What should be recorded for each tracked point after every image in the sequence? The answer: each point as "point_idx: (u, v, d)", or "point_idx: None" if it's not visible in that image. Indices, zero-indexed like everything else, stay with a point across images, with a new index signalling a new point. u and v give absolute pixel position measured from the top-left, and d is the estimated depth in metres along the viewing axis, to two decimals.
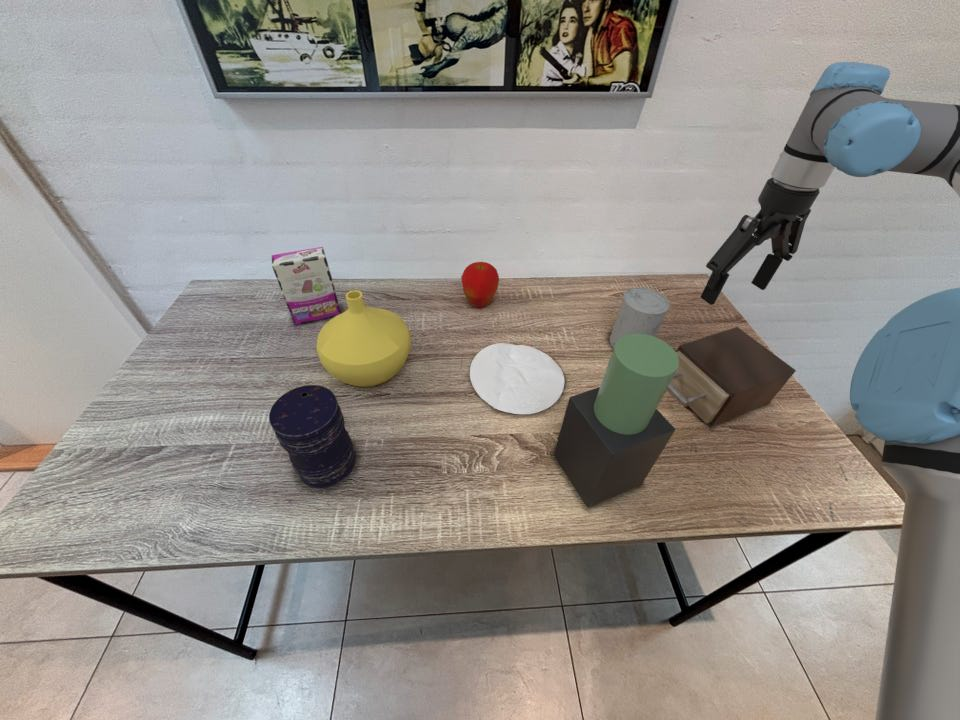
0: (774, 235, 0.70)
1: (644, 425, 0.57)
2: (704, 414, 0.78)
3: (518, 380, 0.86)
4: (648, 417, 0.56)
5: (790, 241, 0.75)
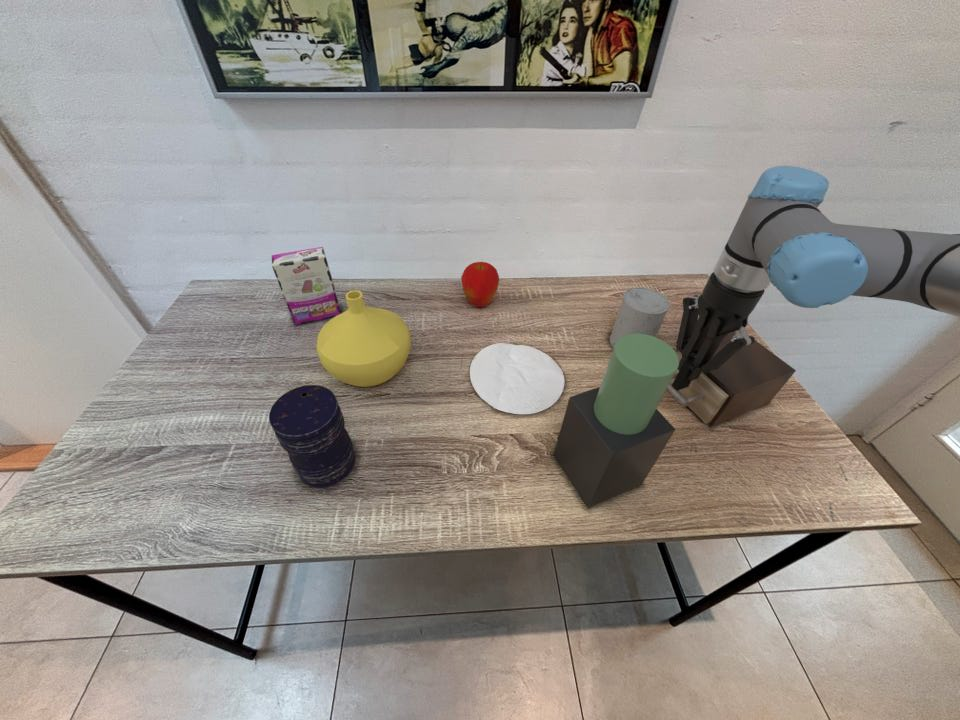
0: None
1: (644, 425, 0.57)
2: (703, 414, 0.78)
3: (518, 380, 0.86)
4: (648, 417, 0.56)
5: (690, 334, 0.72)
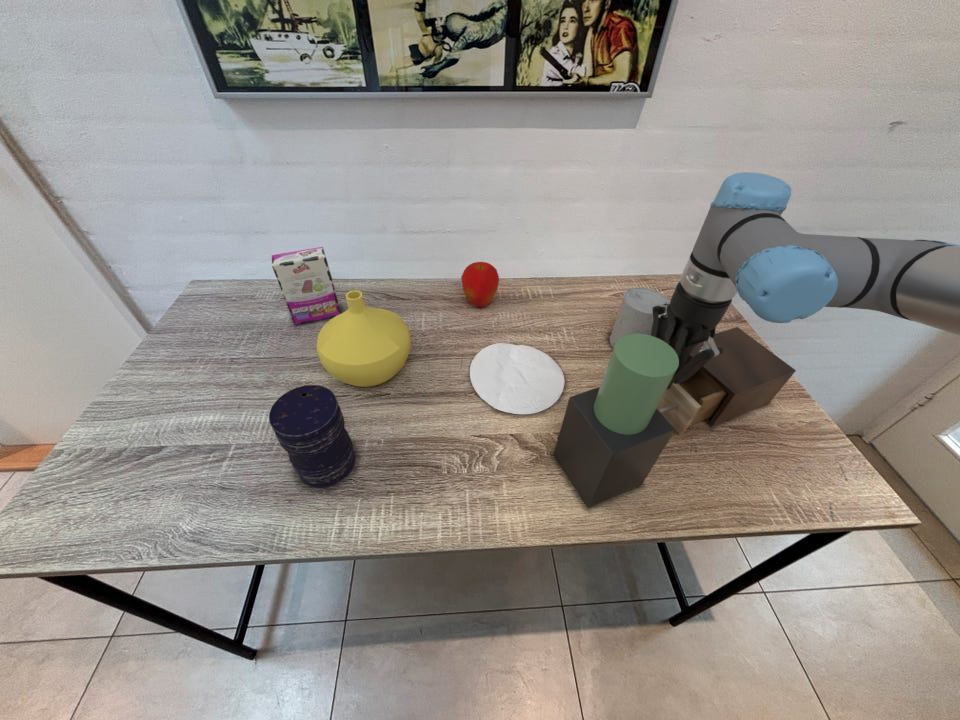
0: None
1: (644, 425, 0.57)
2: (677, 425, 0.76)
3: (518, 380, 0.86)
4: (648, 417, 0.56)
5: None
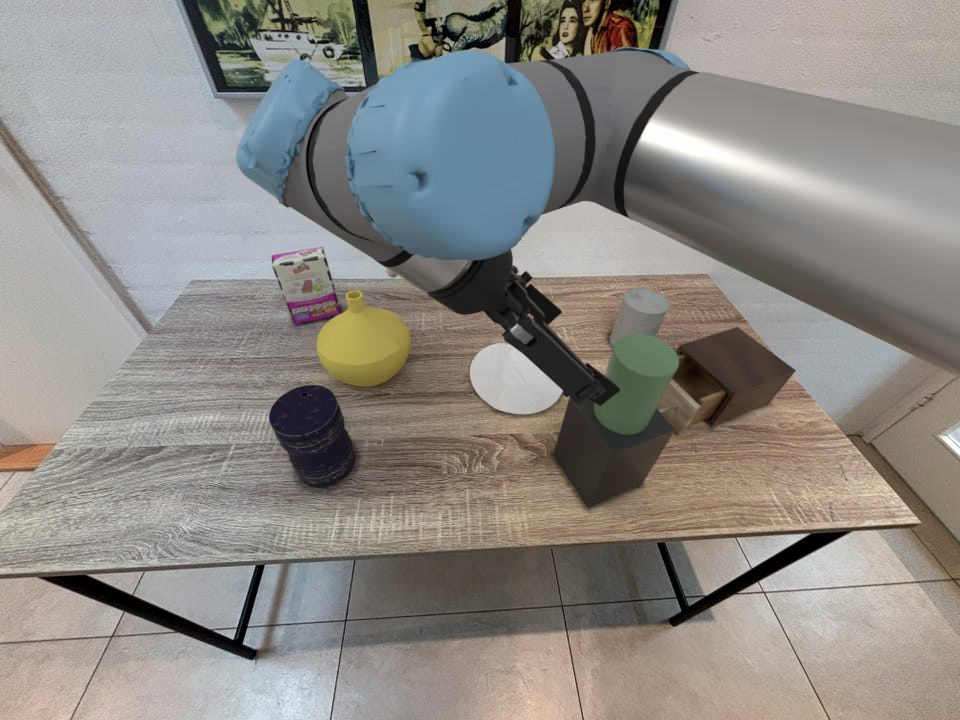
0: None
1: (644, 425, 0.57)
2: (676, 425, 0.76)
3: (518, 380, 0.86)
4: (648, 417, 0.56)
5: None
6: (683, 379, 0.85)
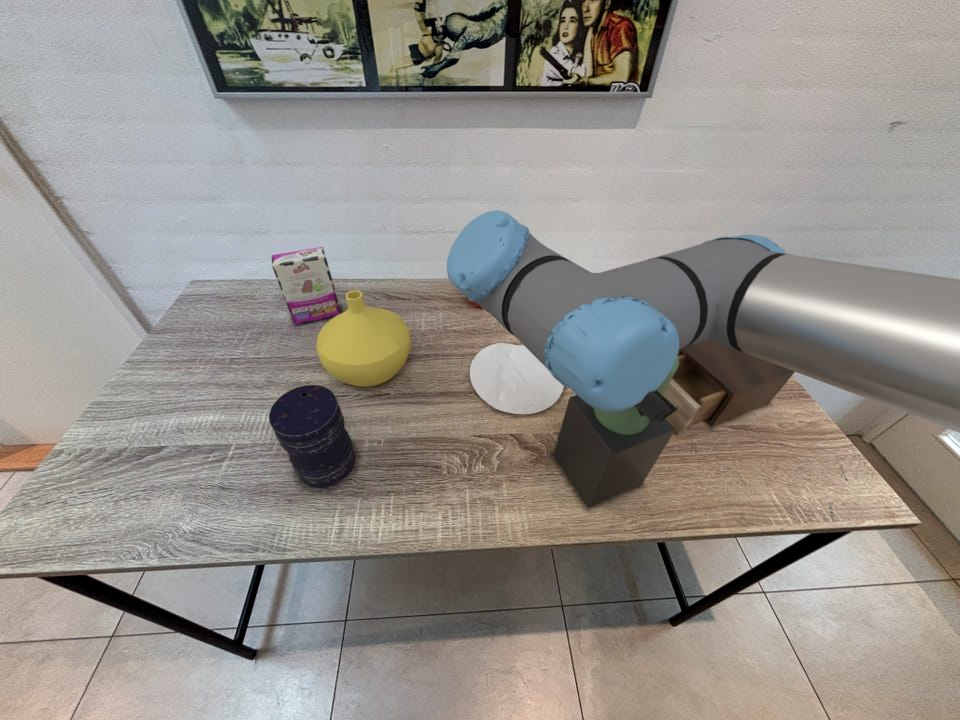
0: None
1: (644, 425, 0.57)
2: (676, 425, 0.76)
3: (518, 380, 0.86)
4: None
5: None
6: (683, 379, 0.85)
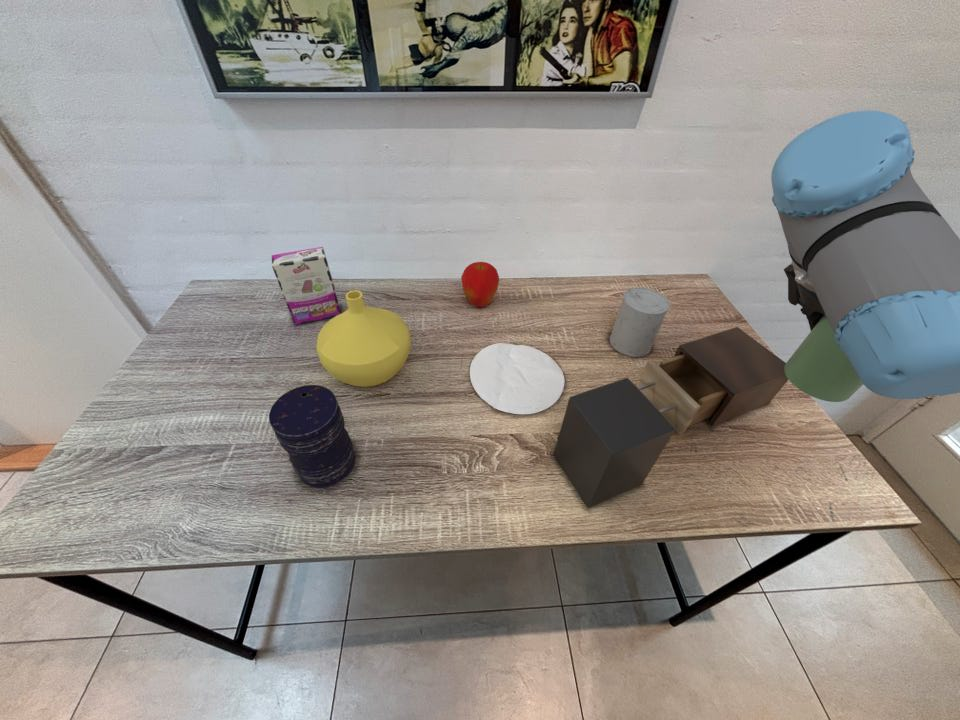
0: None
1: (855, 391, 0.52)
2: (676, 425, 0.76)
3: (518, 380, 0.86)
4: None
5: None
6: (683, 379, 0.85)
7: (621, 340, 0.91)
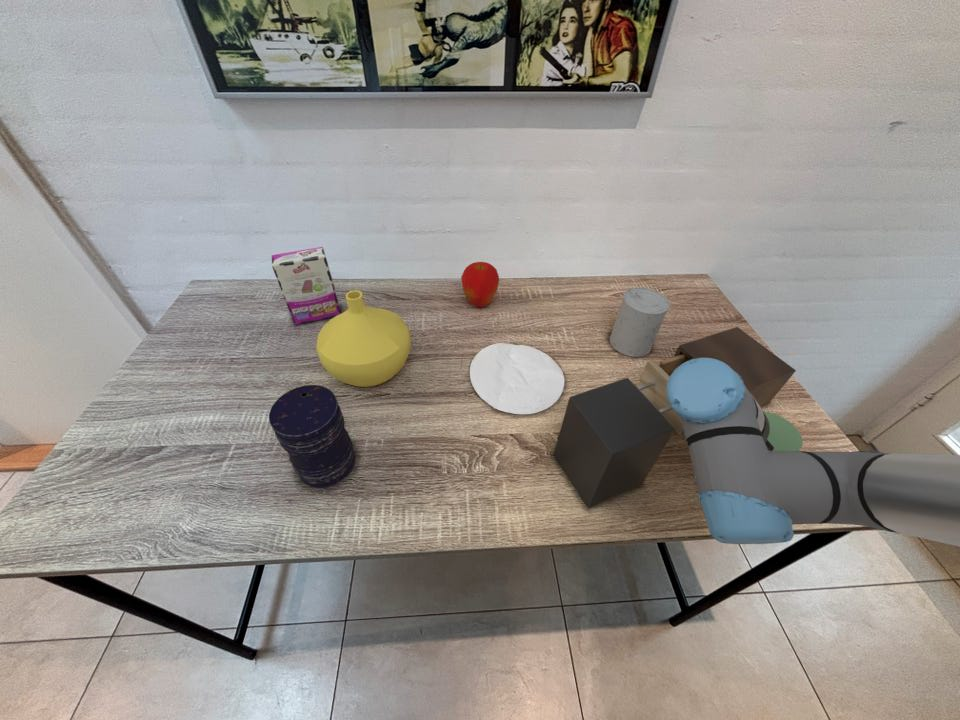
0: None
1: None
2: (676, 425, 0.76)
3: (518, 380, 0.86)
4: None
5: None
6: None
7: (621, 340, 0.91)
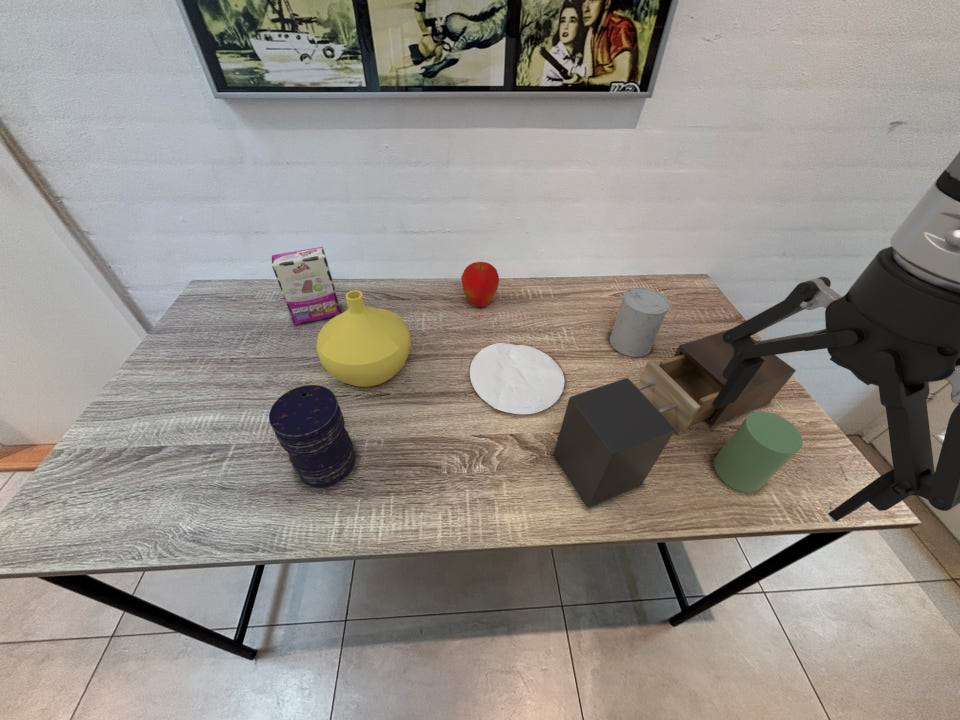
0: None
1: None
2: (676, 425, 0.76)
3: (518, 380, 0.86)
4: (768, 479, 0.67)
5: (761, 329, 0.39)
6: (683, 379, 0.85)
7: (621, 340, 0.91)
